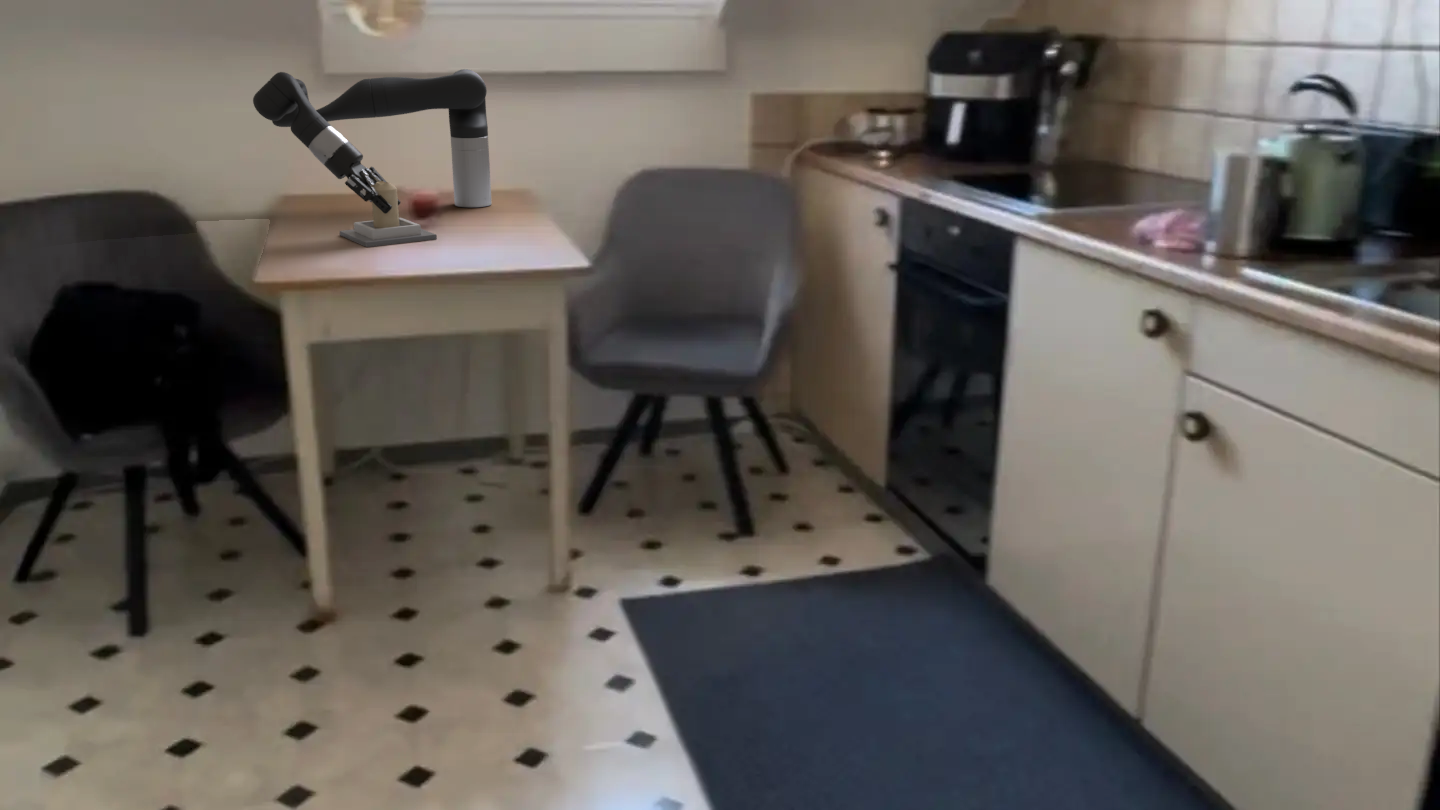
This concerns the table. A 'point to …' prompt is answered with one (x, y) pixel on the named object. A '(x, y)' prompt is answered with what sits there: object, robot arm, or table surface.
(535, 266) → the table surface
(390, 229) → the candle tray
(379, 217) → the candle
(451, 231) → the table surface
